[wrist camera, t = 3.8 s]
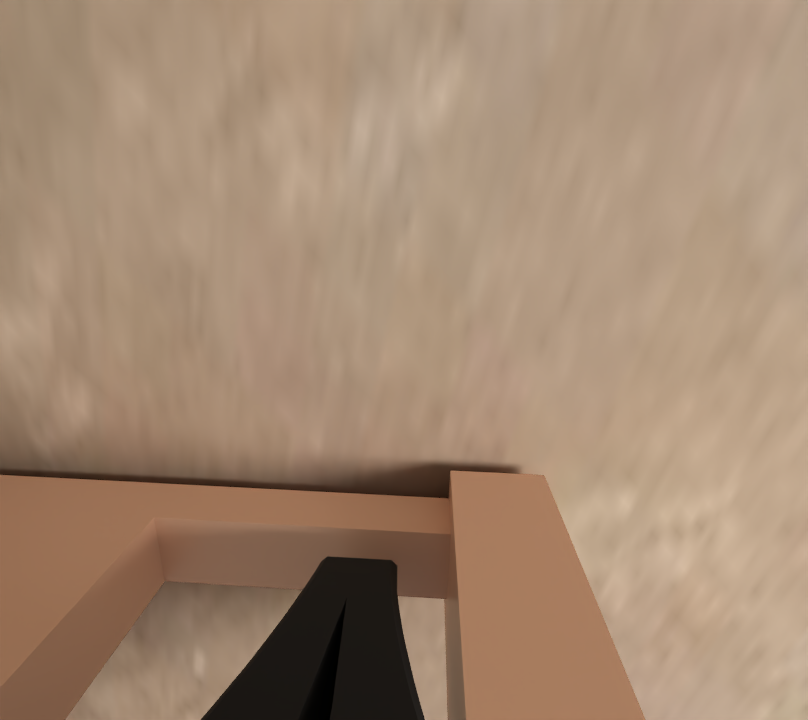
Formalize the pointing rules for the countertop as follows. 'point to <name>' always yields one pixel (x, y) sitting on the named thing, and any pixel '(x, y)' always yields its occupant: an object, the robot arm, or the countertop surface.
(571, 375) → the countertop surface
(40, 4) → the countertop surface
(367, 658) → the robot arm
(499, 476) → the stepped wooden plank
